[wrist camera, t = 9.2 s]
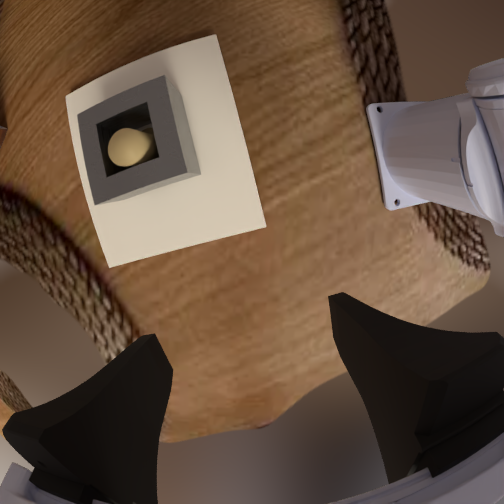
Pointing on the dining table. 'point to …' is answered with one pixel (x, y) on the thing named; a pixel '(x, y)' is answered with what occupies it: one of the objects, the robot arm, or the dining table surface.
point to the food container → (2, 134)
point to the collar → (134, 116)
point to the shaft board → (213, 151)
